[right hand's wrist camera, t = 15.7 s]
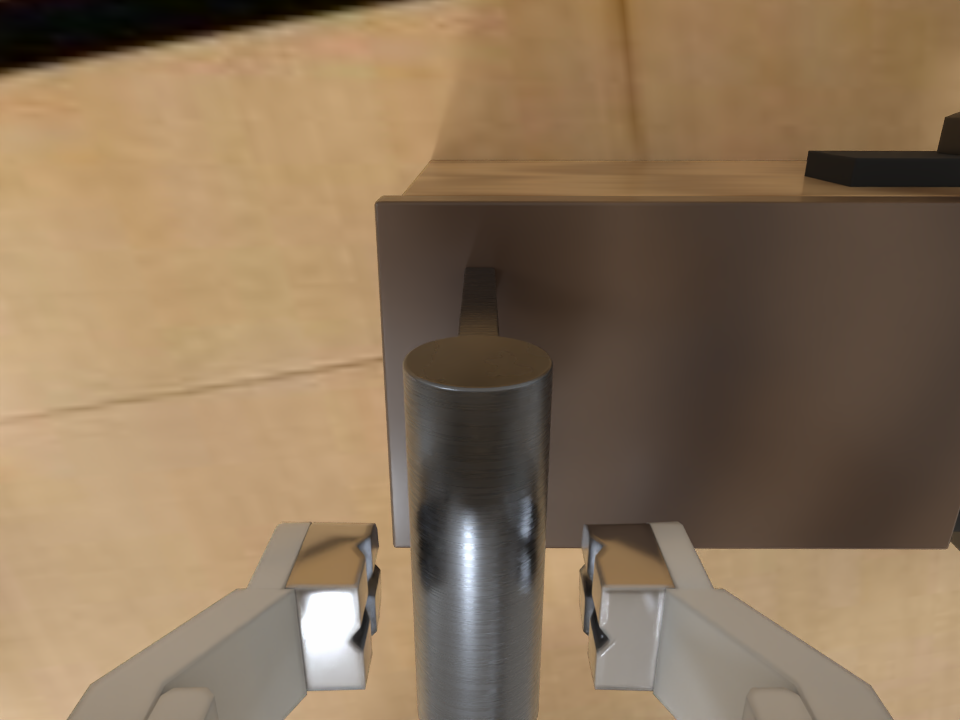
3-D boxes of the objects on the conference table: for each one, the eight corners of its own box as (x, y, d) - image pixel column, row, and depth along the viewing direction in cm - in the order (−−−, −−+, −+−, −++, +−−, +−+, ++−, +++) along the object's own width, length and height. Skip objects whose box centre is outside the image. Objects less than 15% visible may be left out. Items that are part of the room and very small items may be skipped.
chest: (435, 388, 29) (413, 525, 20) (429, 160, 25) (399, 195, 16) (781, 388, 29) (923, 526, 19) (821, 160, 25) (1017, 195, 16)
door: (397, 526, 19) (339, 816, 12) (380, 195, 16) (282, 287, 8) (925, 527, 19) (1227, 820, 12) (1018, 195, 16) (1539, 288, 8)
